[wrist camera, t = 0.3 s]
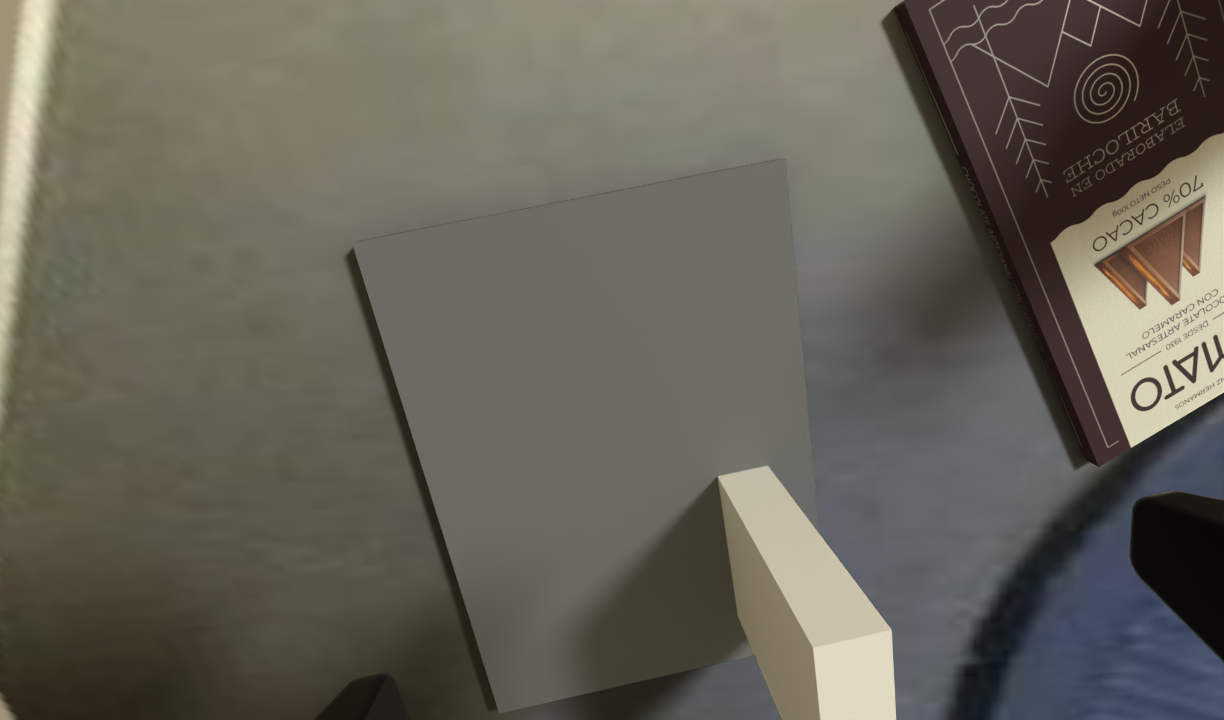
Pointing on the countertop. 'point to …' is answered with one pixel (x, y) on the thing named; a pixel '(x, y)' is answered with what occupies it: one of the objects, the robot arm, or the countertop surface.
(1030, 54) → the chocolate bar
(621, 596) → the mat
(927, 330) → the countertop surface
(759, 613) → the card box
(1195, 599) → the robot arm
